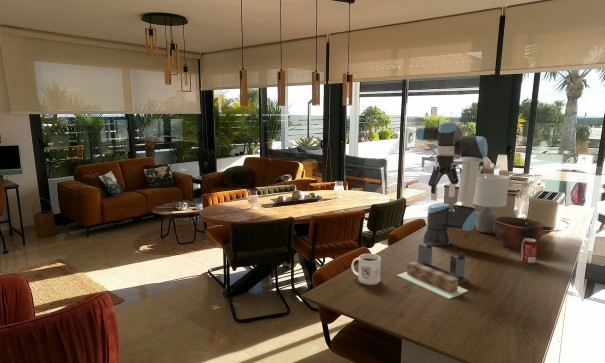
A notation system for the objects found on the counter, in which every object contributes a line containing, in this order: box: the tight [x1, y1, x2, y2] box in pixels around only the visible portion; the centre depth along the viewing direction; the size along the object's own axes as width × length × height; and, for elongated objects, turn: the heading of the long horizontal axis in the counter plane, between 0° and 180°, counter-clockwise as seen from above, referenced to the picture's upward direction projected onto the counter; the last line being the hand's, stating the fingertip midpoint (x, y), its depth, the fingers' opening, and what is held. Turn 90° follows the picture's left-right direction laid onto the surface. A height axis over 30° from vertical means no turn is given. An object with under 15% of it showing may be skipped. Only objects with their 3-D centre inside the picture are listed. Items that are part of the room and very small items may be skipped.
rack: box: [417, 242, 469, 285], centre depth 181 cm, size 25×7×12 cm, turn 34°
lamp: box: [473, 173, 510, 234], centre depth 245 cm, size 21×21×37 cm
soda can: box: [519, 238, 538, 265], centre depth 195 cm, size 7×7×12 cm
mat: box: [396, 271, 469, 300], centre depth 171 cm, size 28×13×1 cm, turn 34°
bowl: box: [493, 216, 545, 251], centre depth 218 cm, size 25×25×15 cm
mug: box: [350, 253, 382, 286], centre depth 174 cm, size 10×12×11 cm
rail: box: [406, 261, 459, 293], centre depth 170 cm, size 24×4×6 cm, turn 34°
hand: (442, 198), depth 185 cm, fingers open, 13 cm apart
